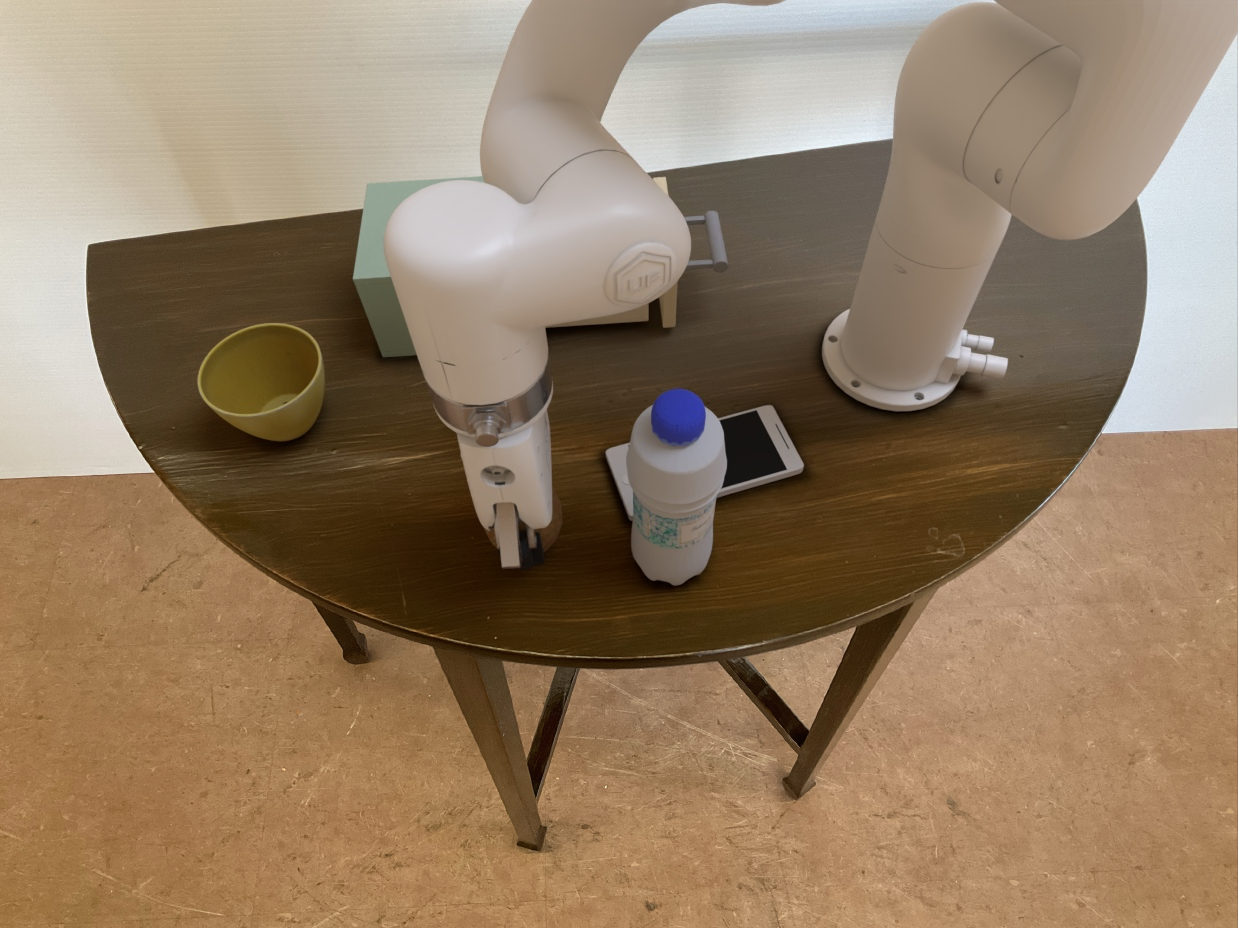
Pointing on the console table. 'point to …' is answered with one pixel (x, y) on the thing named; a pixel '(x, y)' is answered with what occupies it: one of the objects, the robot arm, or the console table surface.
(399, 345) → the cabinet
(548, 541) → the fruit
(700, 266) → the drawer
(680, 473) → the bottle
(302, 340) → the flower pot
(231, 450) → the console table surface
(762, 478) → the smartphone
